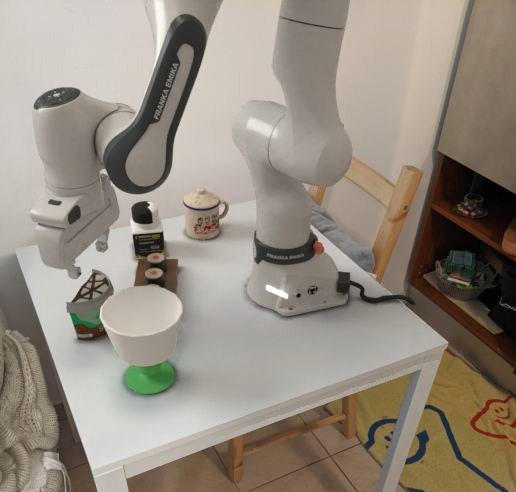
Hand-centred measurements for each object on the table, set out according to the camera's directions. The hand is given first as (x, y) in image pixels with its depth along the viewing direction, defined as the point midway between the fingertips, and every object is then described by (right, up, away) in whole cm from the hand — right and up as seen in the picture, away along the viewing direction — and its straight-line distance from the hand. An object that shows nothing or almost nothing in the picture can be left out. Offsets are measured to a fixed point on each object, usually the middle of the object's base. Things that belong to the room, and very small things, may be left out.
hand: (89, 263), depth 102 cm
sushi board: (+9, -3, +20) cm, 22 cm away
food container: (0, -12, +10) cm, 16 cm away
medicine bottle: (+5, +8, +32) cm, 33 cm away
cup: (+11, -21, 0) cm, 24 cm away
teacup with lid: (+18, +14, +40) cm, 46 cm away
